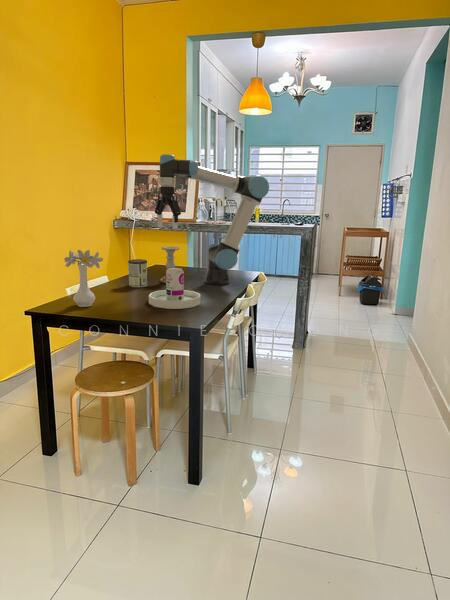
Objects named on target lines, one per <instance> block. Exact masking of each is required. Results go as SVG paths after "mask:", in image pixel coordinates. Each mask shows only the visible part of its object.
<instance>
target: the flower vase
mask: <svg viewBox="0 0 450 600" xmlns="http://www.w3.org/2000/svg"><path fill="white" fill-rule="evenodd" d="M90 254H91V253H90V250H89V249H87V250H86V251H84V252H83V251H82V250H81V249H77V252H75V253H74V251H72V250H69V252H68V256H66V257H64V259H63V260H64V262H65V263H66V264H65V265H64V267H65V268H69V267H70V266H71V265H75V264H76V263H77V264H76V265H77V267H78V271H79V286H78V289H77V292H75V294H74V295H73V298H72V300H73V301H74V303H76V304H77V307H81V308H88V307H91V306H93V303H94V302H95V300H96V296H95V294H94V292H93V291H91V290H90V287H89V283H88V275H87V274H88V273H87V271H88V268H89V269H92V268H93V267H96V268H97V269H99V268H100V263H101V262H103V261H104V258H103V257H99V251H97V252H96V253H95V254H94V255H90Z"/></svg>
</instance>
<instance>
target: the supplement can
mask: <svg viewBox="0 0 450 600" xmlns="http://www.w3.org/2000/svg"><path fill="white" fill-rule="evenodd" d="M166 269H167V268H166ZM184 274H185V272H184V270H183V268H182V267H174V268H168V269H167V271H165V276H166V283H165V285H166V286H165V290H166V299H167V300H170V301H181V300H183V299H184V290H185V289H184V288H185V281H184V280H185V275H184Z"/></svg>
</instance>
